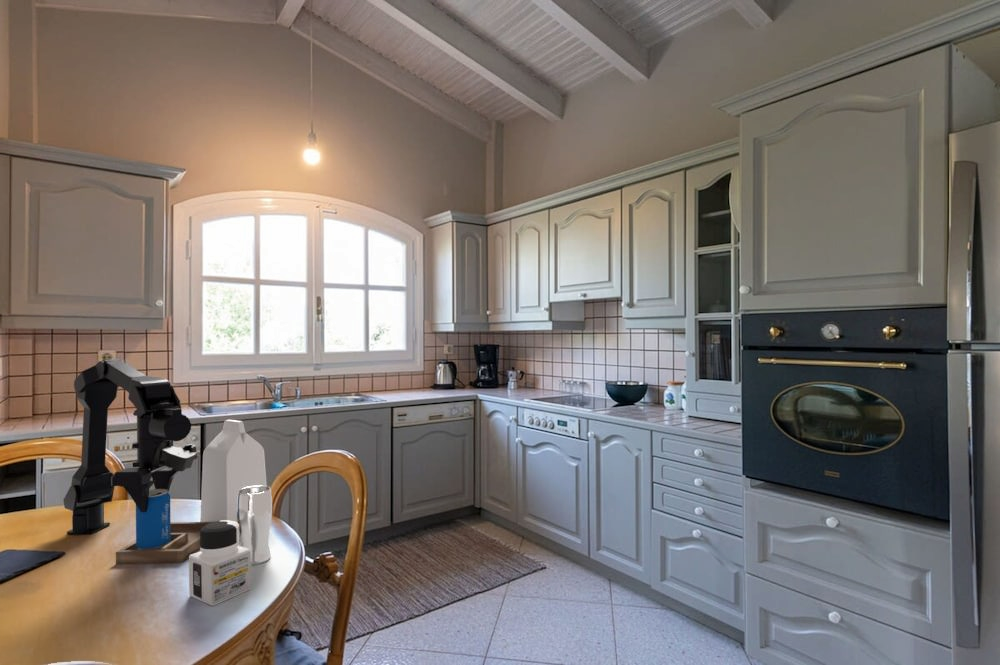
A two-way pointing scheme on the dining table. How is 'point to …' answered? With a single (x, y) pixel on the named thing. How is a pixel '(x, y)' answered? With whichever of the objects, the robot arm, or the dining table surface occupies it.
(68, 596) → the dining table surface
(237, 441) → the milk
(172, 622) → the dining table surface
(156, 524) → the beverage can
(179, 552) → the tray
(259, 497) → the beer glass
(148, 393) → the robot arm
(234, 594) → the container
